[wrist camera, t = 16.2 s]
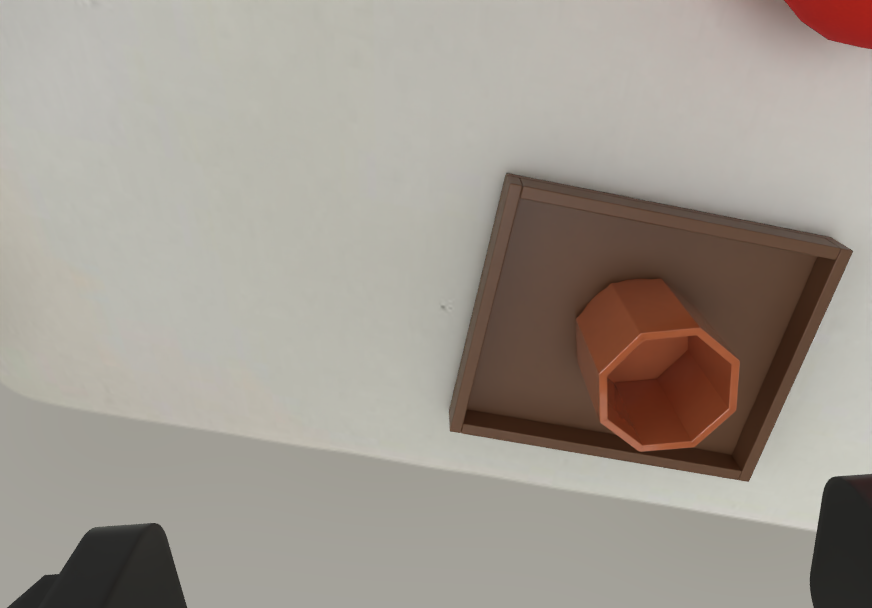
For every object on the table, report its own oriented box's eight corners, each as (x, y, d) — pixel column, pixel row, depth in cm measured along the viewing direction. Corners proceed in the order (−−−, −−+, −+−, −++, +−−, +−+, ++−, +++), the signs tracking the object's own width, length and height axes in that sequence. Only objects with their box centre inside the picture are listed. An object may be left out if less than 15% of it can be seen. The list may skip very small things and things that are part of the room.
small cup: (576, 387, 38) (600, 455, 32) (573, 283, 35) (598, 337, 30) (690, 377, 37) (734, 444, 32) (695, 271, 35) (743, 323, 30)
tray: (448, 410, 39) (449, 431, 37) (505, 172, 34) (509, 182, 32) (734, 459, 40) (749, 482, 38) (831, 237, 35) (853, 250, 33)
